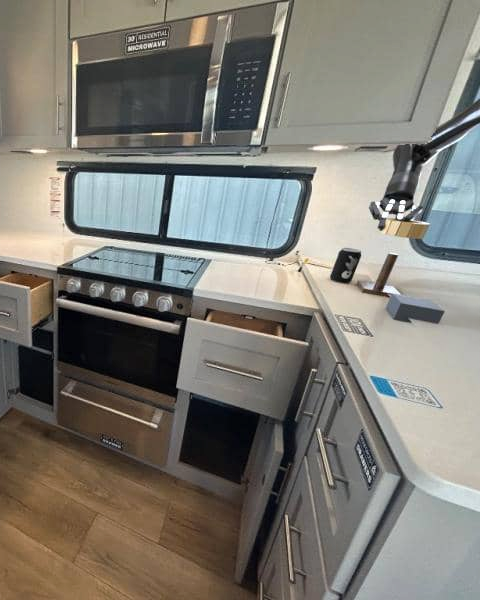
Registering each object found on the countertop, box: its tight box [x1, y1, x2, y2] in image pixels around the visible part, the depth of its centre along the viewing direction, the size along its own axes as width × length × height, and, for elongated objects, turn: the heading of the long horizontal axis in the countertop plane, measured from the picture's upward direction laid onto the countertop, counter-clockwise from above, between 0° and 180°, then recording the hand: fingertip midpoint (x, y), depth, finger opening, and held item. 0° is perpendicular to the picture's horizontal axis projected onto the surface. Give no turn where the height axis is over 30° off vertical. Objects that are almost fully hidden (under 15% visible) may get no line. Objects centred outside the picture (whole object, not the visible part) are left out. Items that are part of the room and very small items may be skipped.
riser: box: [385, 293, 446, 325], centre depth 93 cm, size 9×9×5 cm
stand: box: [356, 252, 402, 298], centre depth 111 cm, size 10×10×14 cm
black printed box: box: [329, 247, 362, 284], centre depth 121 cm, size 7×7×12 cm
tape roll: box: [380, 217, 431, 240], centre depth 105 cm, size 10×10×4 cm
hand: (387, 229), depth 106 cm, fingers closed on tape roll, 2 cm apart
